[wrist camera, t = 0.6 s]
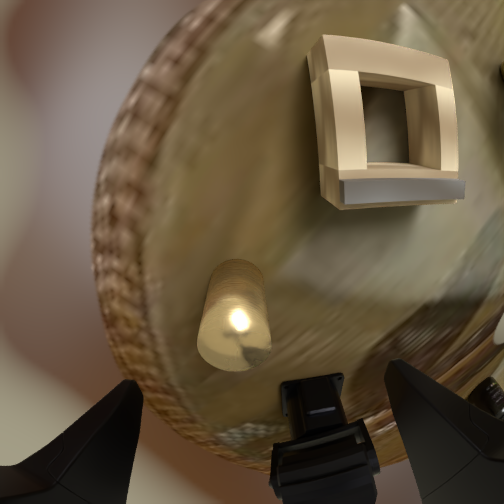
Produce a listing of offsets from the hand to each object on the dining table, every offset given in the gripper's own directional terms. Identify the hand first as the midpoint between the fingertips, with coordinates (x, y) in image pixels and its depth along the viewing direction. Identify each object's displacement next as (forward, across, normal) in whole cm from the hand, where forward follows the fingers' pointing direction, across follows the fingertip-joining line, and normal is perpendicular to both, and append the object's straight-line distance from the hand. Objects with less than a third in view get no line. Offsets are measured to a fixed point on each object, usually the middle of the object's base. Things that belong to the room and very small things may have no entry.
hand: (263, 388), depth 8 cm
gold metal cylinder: (+12, +2, +2) cm, 12 cm away
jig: (+12, -9, -9) cm, 18 cm away
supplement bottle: (+14, -41, +32) cm, 54 cm away
